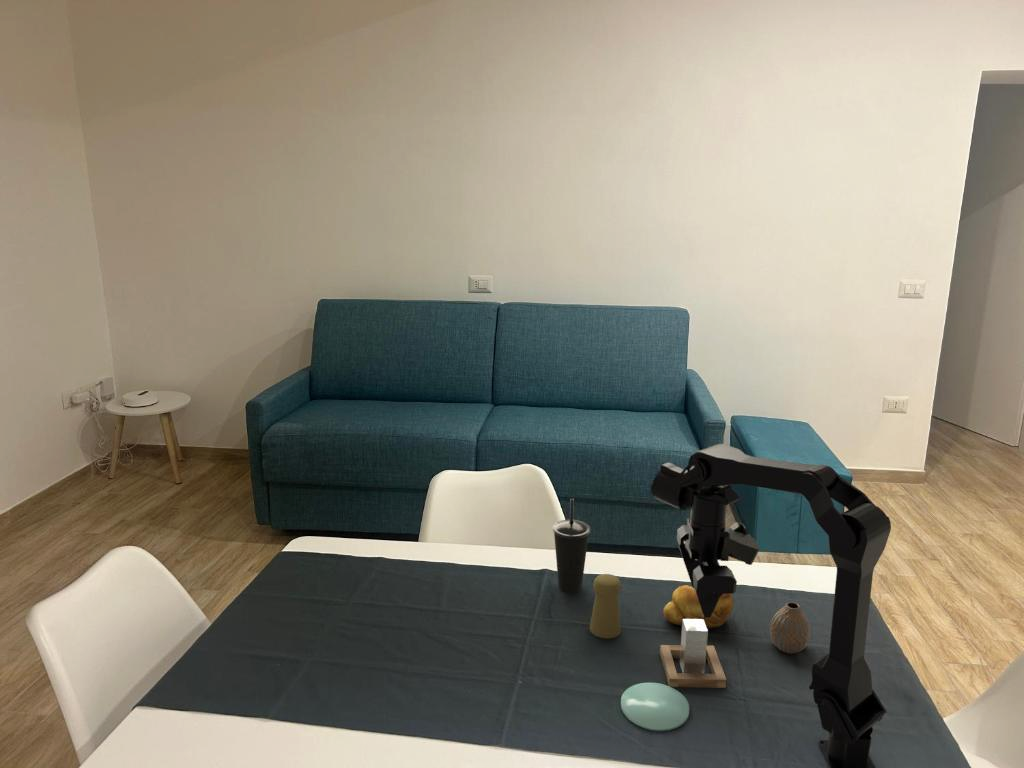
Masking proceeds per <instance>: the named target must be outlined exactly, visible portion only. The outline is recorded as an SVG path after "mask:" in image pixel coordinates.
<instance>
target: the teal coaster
mask: <svg viewBox="0 0 1024 768" xmlns="http://www.w3.org/2000/svg"><path fill="white" fill-rule="evenodd" d="M620 708H621V711H622V713H623V715H624V716H625V717H626V718H627V719H628V720H629V721H630V722H631V723H633V724H634V725H636V726H638V727H640V728H643V729H645V730H650V731H657V732H658V731H659V732H661V731H662V732H663V731H664V732H665V731H670V730H675V729H677V728H679V727H681V726H682V725H683V724H685V723H686V722H687V720H688V718H689V716H690V715H689V714H690V705H689V701H688V700H687V698H686V697H685V695H683V694H682V692H679V690H677V689H675V687H669V685H668V684H667V685H666V684H662V683H658V682H642V683H640V682H639V683H637V684H633V685H632V686H630V687H628V688H626V690H625V691H624V692H623V693H622V695H621V699H620Z"/></svg>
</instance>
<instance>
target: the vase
mask: <svg viewBox="0 0 1024 768" xmlns="http://www.w3.org/2000/svg"><path fill="white" fill-rule="evenodd" d="M769 633H770V638H771V641H772V643H773V644H774V646H775V647H777V649H778V650H779V651H781V652H783V653H785V654H793V655H794V654H798V653H800V652H802V651H803V650H804V649H805V648H806V647H807V645H808V644H809V641H810V639H811V638H810V637H811V625H810V621H809V619H808V617H807V616H806V614H804V611H803V609H801V606H800V604H799V603H797V602H795V601H789V602H786V603H785V605H784V606H783V607H782V608H780V609H779V610H778V611H776V613H775V614H774V615H773V617H772V618H771V621H770V626H769Z"/></svg>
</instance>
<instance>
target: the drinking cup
mask: <svg viewBox="0 0 1024 768" xmlns="http://www.w3.org/2000/svg"><path fill="white" fill-rule="evenodd" d="M569 503H570V504H569V505H570V507H569V509H570V510H569V519H563V520H559V521H557V522H555V523H554V524H553V526H552V531H553V536H554V546H555V547H554V549H555V558H556V574H557V583H558V588H559V590H560V591H561V592H563V593H567V594H576V593H578V592H580V591H581V590H582V589H583V588H582V587H583V581H584V572H585V563H586V557H587V549H588V542H589V534H590V532H591V527H590V525H589V524H588V523H586V522H584V521H582V520H577V519H574V509H575V507H574V504H575V499H574V498H570V502H569Z"/></svg>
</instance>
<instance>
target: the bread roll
mask: <svg viewBox="0 0 1024 768" xmlns="http://www.w3.org/2000/svg"><path fill="white" fill-rule="evenodd" d="M733 610H734V597H733V594H731V593H730V594H723V595H722V596H721V597H720V599H719V600H718V602H717V605H716V607H715V609H714V611H713V613H712V615H711V617H710V618H705V617H704V616H703V613H702V610H701V607H700V604H699V601H698V598H697V594H696V592H695V589H694V588H693V587H692V586H690V585H688V584H687V585H681V586H678V587H677V588H676V589H675V590H673V592H672V599H671V601H669V602H668V603H667V604H666V605H665V606H664V608H663V615H664V617H665V620H667V621H668V622H670V623H671V624H673V625H677V626H680V627H682V622H683V619H704V622H705V625H706V628H707V630H709V629H713V628H716V629H717V628H720V627H721V626H722V625H724V624H725V623H726V621H727V619H728V616H730V615H732V612H733Z"/></svg>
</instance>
